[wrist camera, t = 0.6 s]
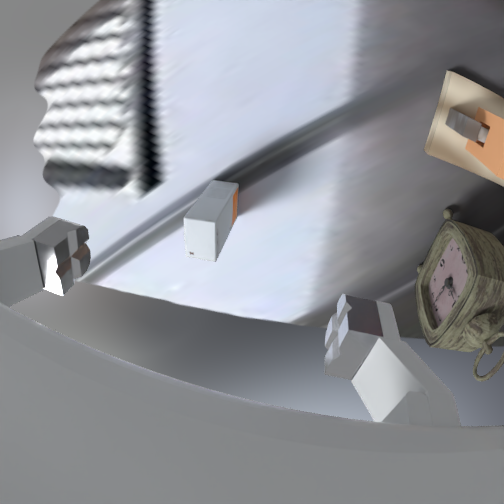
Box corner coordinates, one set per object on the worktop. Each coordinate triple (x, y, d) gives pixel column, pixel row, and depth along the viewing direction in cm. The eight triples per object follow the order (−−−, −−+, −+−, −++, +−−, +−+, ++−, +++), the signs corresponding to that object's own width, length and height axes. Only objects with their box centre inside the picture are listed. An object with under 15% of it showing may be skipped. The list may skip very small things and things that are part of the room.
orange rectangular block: (464, 148, 32) (497, 176, 25) (478, 106, 29) (515, 125, 21) (482, 156, 32) (515, 185, 25) (495, 116, 29) (534, 136, 21)
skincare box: (238, 217, 50) (216, 263, 41) (211, 213, 51) (184, 258, 41) (240, 182, 47) (216, 222, 37) (212, 178, 47) (181, 217, 38)
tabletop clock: (440, 197, 41) (509, 321, 21) (485, 212, 40) (559, 331, 20) (407, 272, 50) (433, 405, 30) (449, 282, 49) (486, 406, 29)
